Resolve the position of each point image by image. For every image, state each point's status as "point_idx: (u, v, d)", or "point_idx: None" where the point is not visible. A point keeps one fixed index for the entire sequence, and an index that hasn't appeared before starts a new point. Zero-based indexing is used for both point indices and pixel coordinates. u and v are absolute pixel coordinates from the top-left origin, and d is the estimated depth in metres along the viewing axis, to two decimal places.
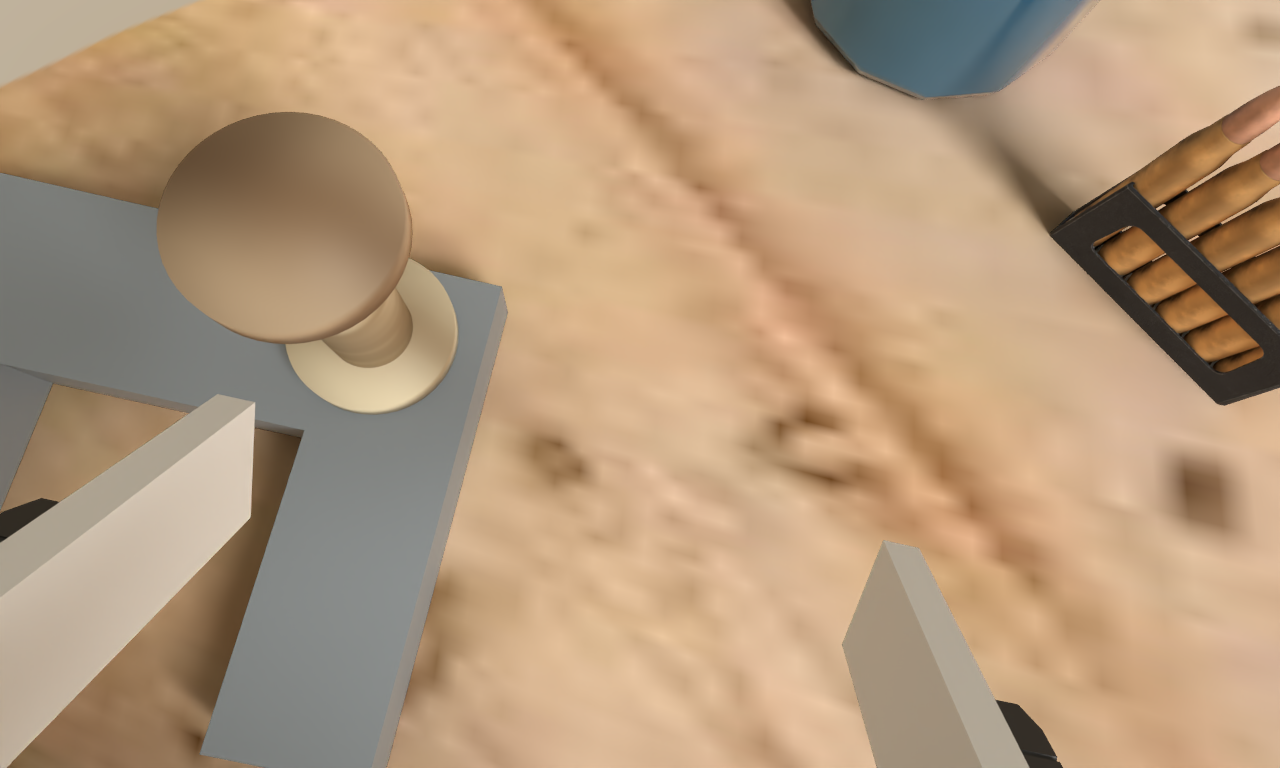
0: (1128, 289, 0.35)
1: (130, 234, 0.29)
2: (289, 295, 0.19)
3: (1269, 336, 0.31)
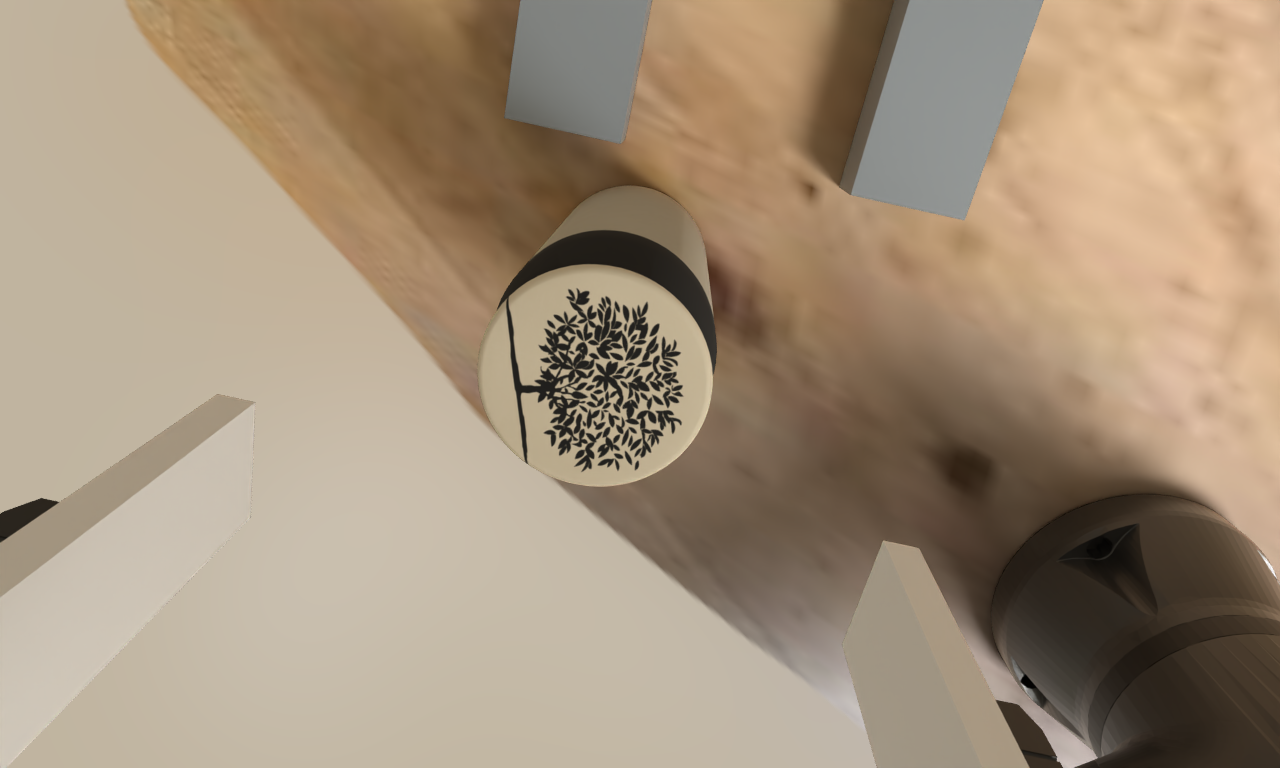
0: None
1: None
2: None
3: None
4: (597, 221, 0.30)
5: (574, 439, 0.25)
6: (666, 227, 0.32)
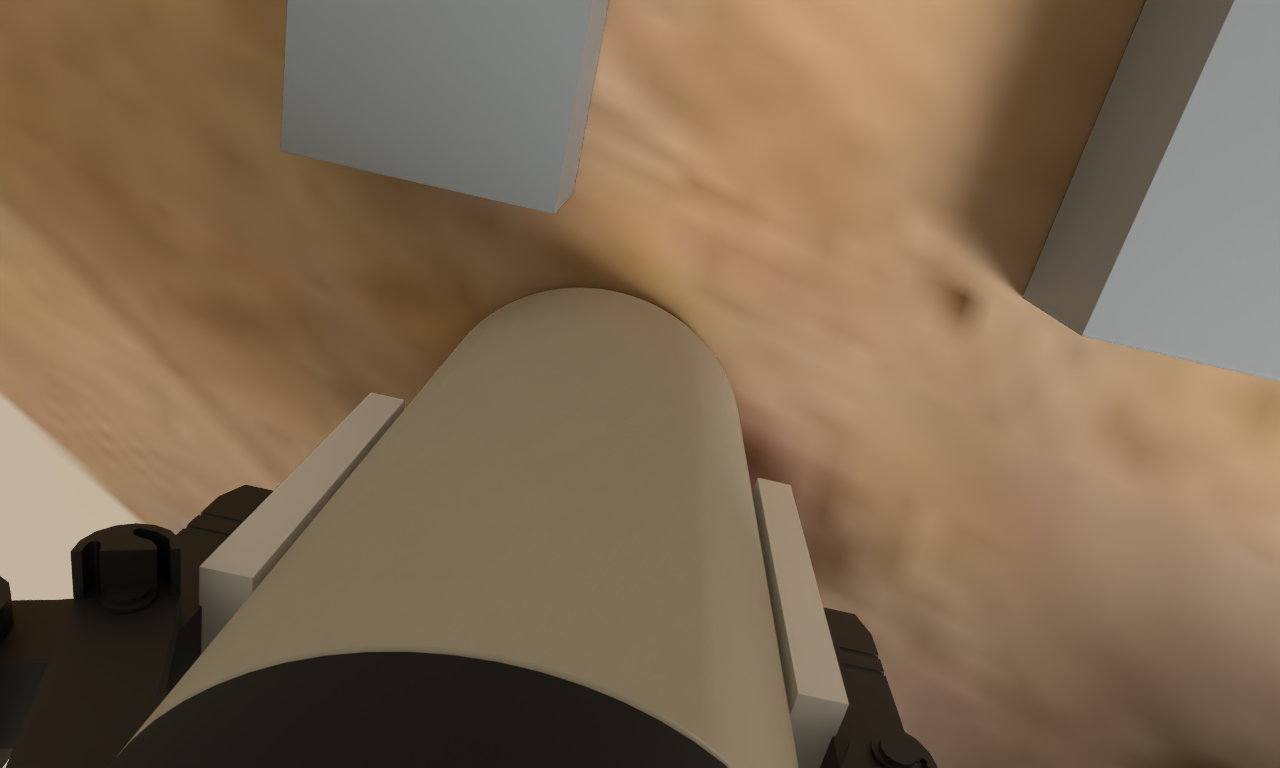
0: None
1: None
2: None
3: None
4: (426, 530, 0.09)
5: None
6: (658, 493, 0.11)
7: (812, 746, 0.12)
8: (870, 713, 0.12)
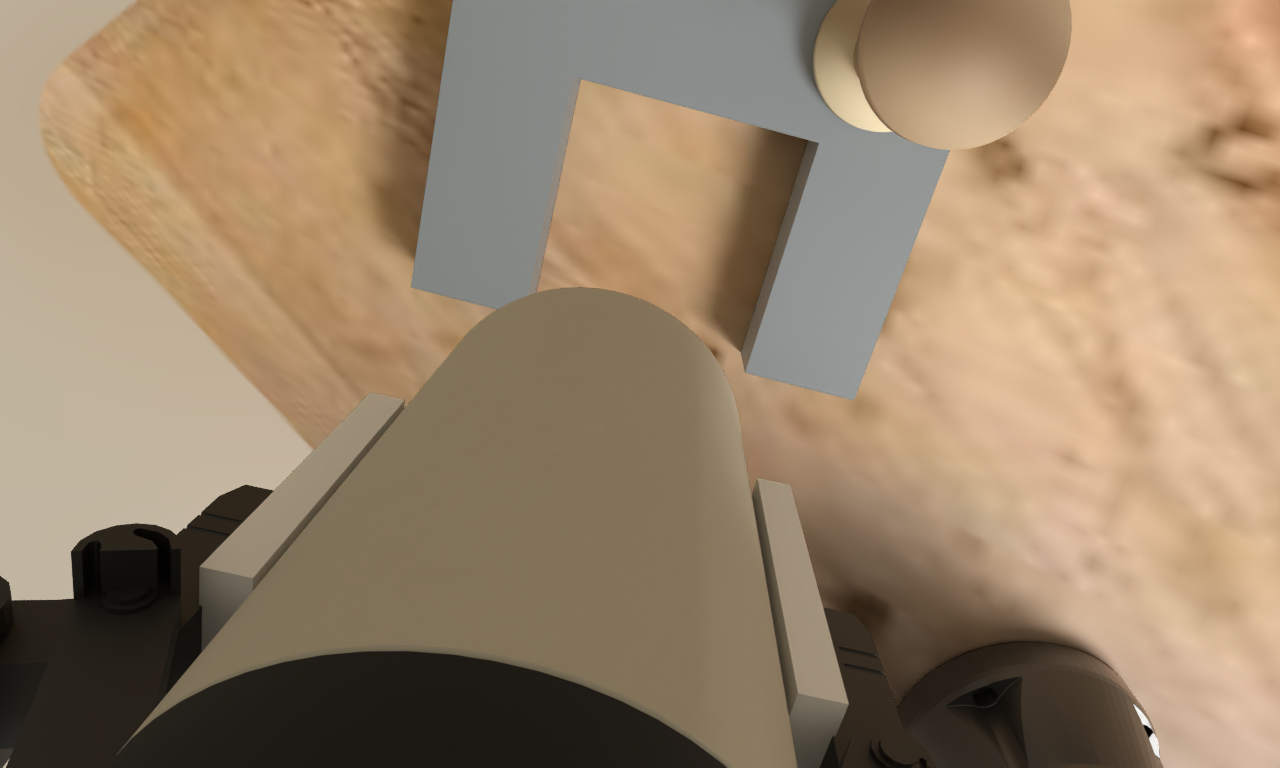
0: None
1: None
2: (966, 118, 0.24)
3: None
4: (425, 530, 0.09)
5: None
6: (657, 493, 0.11)
7: (812, 746, 0.12)
8: (870, 713, 0.12)
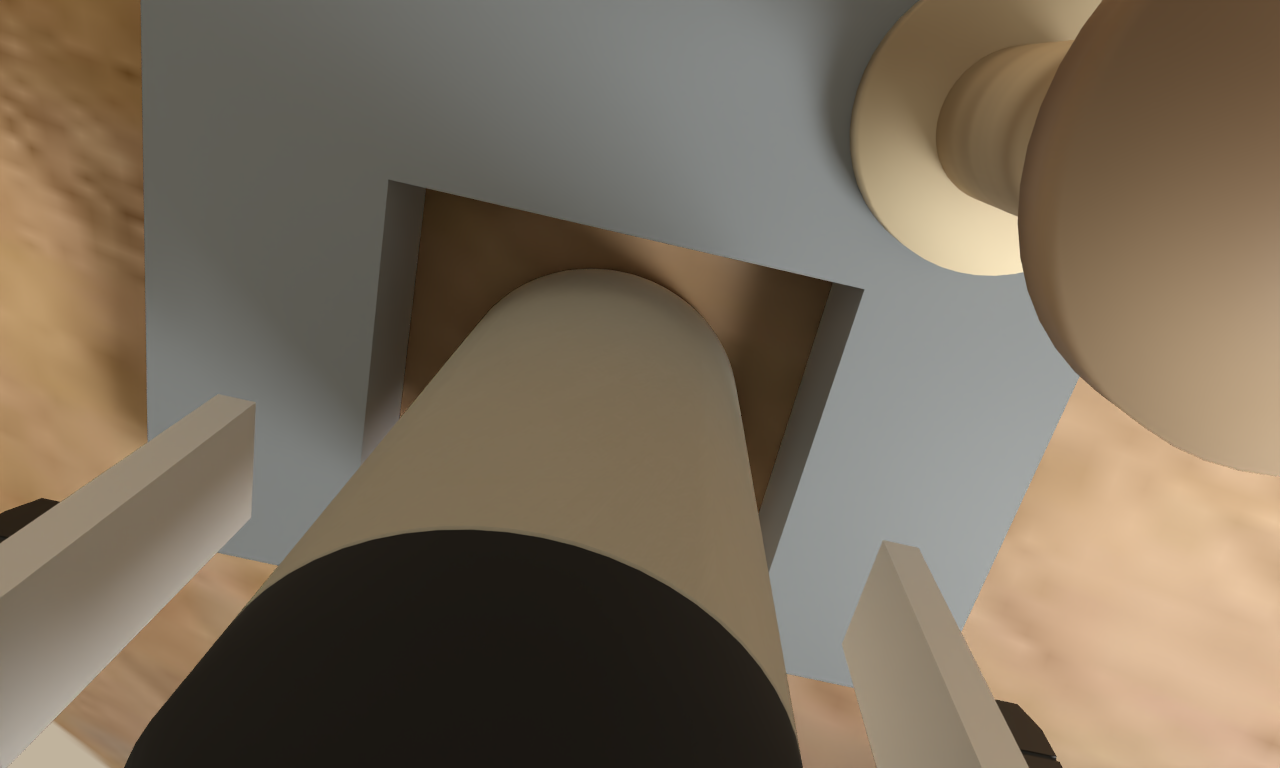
0: None
1: None
2: None
3: None
4: (475, 451, 0.11)
5: None
6: (665, 432, 0.13)
7: None
8: None
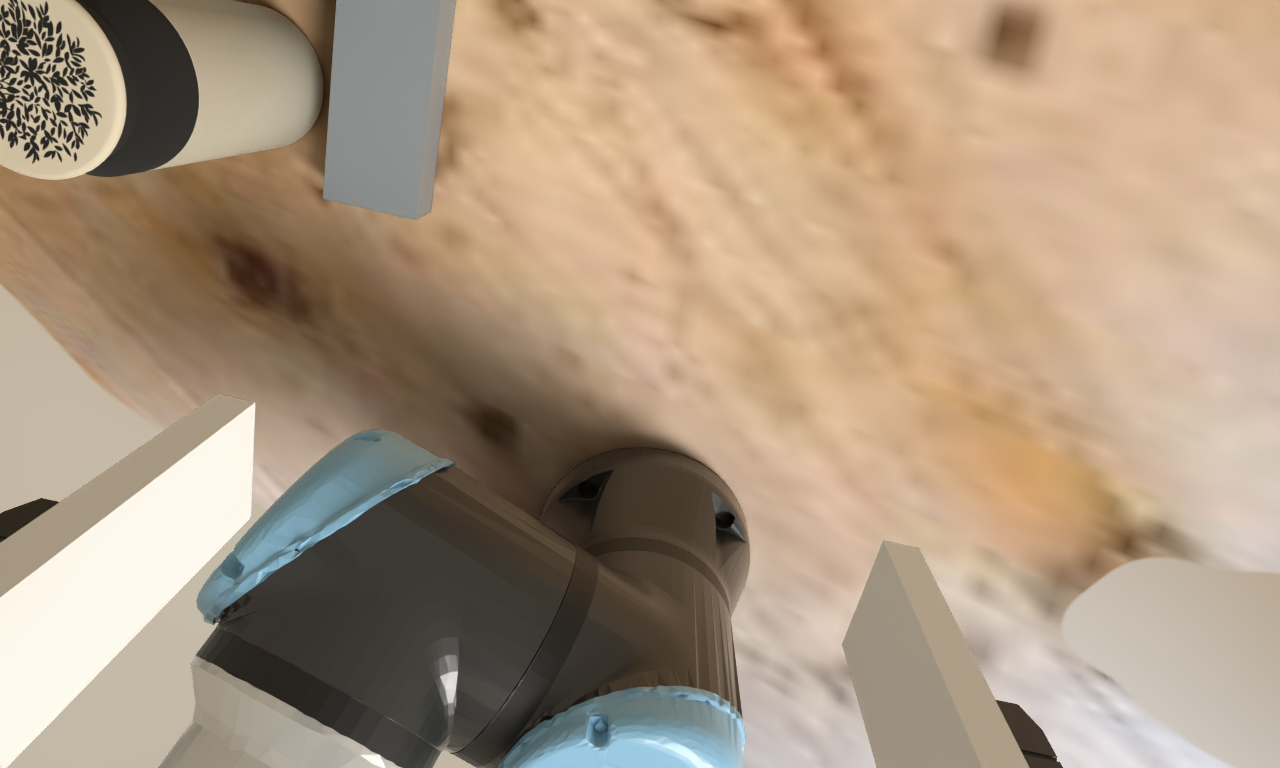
0: None
1: None
2: None
3: None
4: None
5: (18, 132, 0.30)
6: (192, 0, 0.37)
7: None
8: None
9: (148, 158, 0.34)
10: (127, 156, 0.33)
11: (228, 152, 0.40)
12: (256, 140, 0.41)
